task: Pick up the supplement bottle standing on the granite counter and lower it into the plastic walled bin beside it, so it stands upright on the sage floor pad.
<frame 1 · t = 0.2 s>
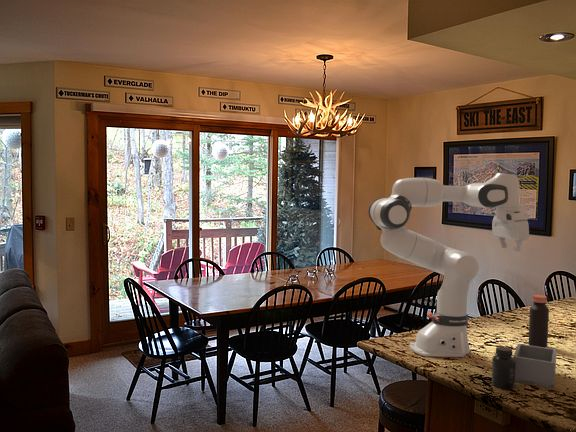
hand: (510, 249, 200), 39 cm above the kitchen counter, tool pointing down, fingers open, 8 cm apart
supplement bottle: (503, 386, 163), on the kitchen counter
vinegar: (537, 346, 204), on the kitchen counter
walled bin: (534, 376, 171), on the kitchen counter
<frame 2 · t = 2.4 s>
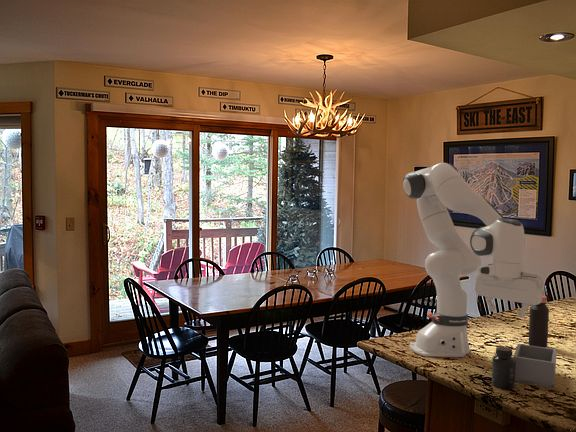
hand: (506, 314, 162), 23 cm above the kitchen counter, tool pointing down, fingers open, 8 cm apart
nothing on the kitchen counter moved.
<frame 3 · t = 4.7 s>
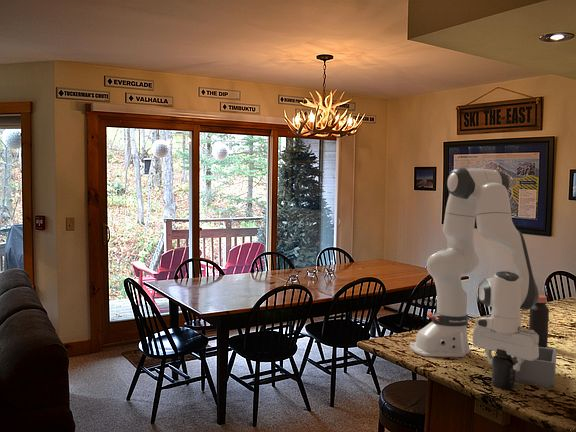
hand: (503, 366, 163), 6 cm above the kitchen counter, tool pointing down, fingers closed on supplement bottle, 7 cm apart
supplement bottle: (503, 386, 163), on the kitchen counter, touching gripper
everything else where it was.
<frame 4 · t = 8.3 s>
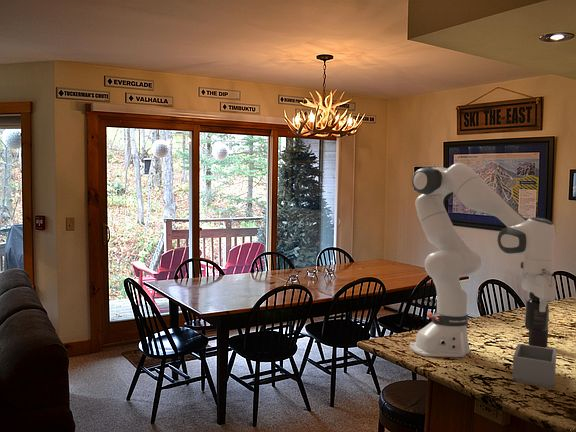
hand: (536, 308, 170), 23 cm above the kitchen counter, tool pointing down, fingers closed on supplement bottle, 7 cm apart
supplement bottle: (535, 329, 170), point 16 cm above the kitchen counter, touching gripper
everything else where it was.
when the fingers open (9 cm above the kitchen counter, at t = 12.0 s): supplement bottle stays where it is, resting on walled bin.
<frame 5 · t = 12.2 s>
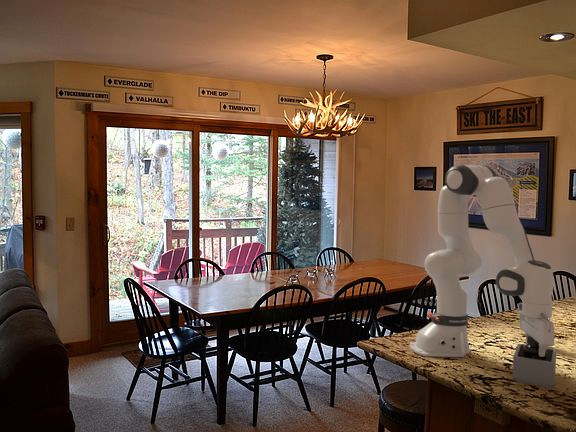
hand: (535, 351, 171), 9 cm above the kitchen counter, tool pointing down, fingers open, 8 cm apart
supplement bottle: (533, 373, 171), point 1 cm above the kitchen counter, touching walled bin
everything else where it was.
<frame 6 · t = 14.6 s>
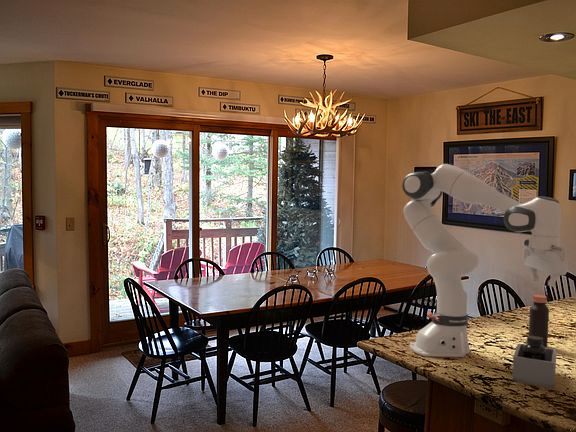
hand: (543, 283, 178), 30 cm above the kitchen counter, tool pointing down, fingers open, 8 cm apart
nothing on the kitchen counter moved.
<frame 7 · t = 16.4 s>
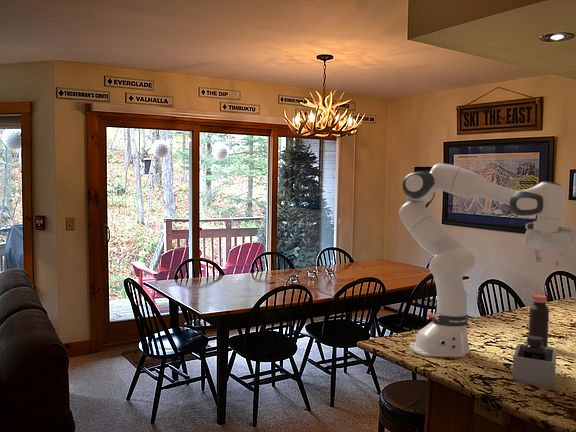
hand: (548, 264, 187), 35 cm above the kitchen counter, tool pointing down, fingers open, 8 cm apart
nothing on the kitchen counter moved.
at the end: supplement bottle inside the target area on the walled bin (0.2 cm from its centre), point 1.0 cm above the walled bin's base; supplement bottle tilted 0°; the gripper is holding nothing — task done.
